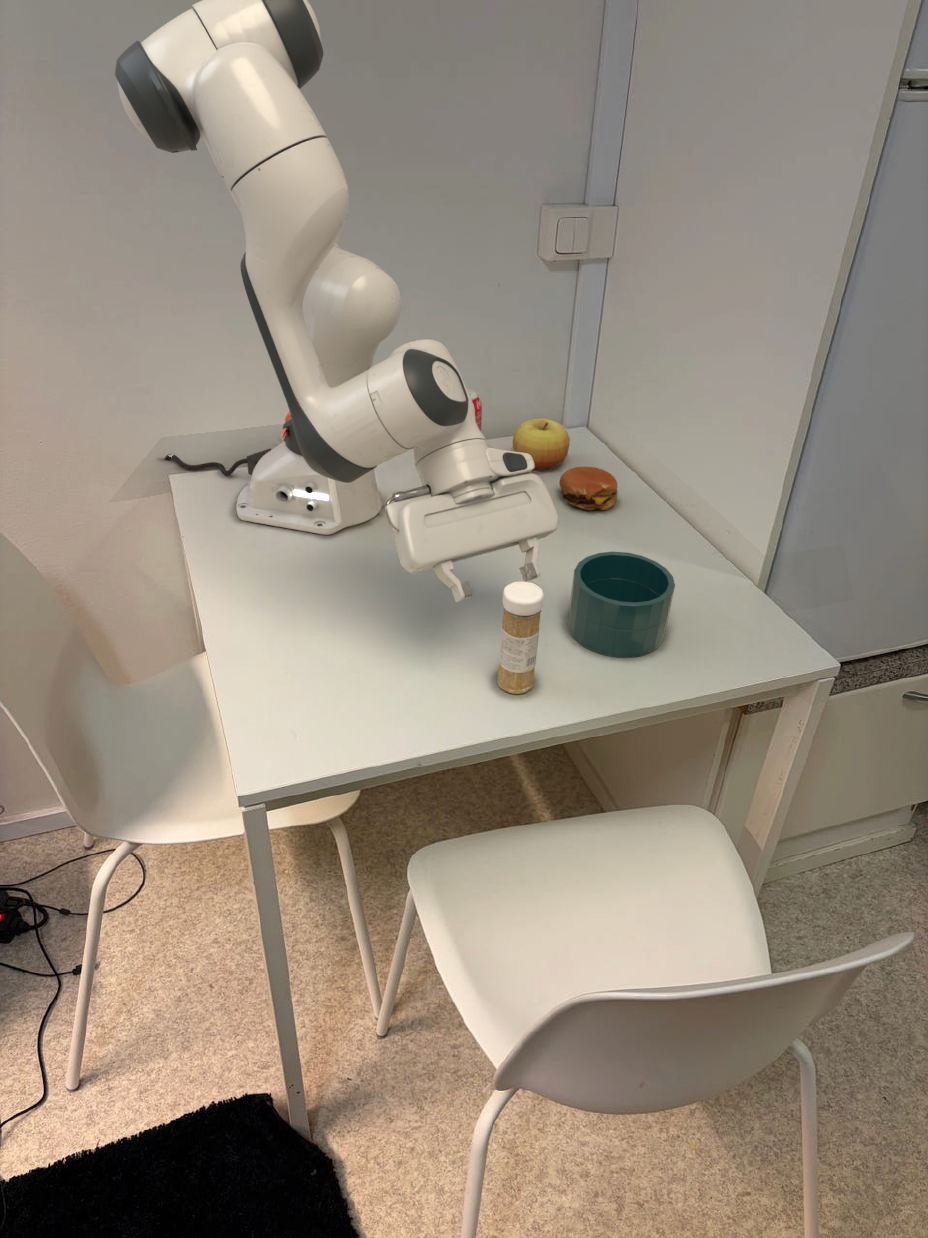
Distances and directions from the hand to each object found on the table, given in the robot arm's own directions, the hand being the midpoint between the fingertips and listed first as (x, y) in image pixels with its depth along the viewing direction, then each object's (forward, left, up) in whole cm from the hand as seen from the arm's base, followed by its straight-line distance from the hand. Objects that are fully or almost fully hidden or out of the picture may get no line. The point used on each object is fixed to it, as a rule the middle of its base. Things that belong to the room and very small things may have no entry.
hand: (499, 589), depth 105 cm
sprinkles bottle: (+3, -3, -12) cm, 12 cm away
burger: (+14, +46, -12) cm, 50 cm away
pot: (+16, +10, -12) cm, 22 cm away
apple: (+6, +58, -12) cm, 60 cm away
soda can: (-8, +58, -12) cm, 60 cm away
